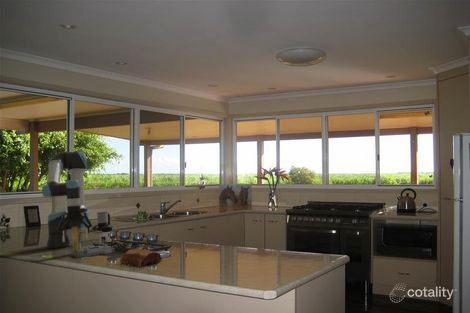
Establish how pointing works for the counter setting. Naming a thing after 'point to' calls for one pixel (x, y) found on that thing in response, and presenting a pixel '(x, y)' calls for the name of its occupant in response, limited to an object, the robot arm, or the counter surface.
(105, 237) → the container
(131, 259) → the cured meat
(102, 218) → the milk frother
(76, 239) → the brass pin
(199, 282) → the counter surface
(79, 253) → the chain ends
